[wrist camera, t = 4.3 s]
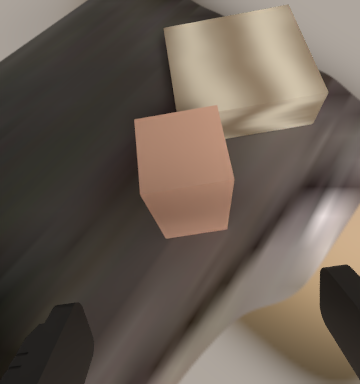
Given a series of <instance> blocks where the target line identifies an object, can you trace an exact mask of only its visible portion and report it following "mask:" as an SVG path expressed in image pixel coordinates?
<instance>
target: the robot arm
mask: <svg viewBox="0 0 360 384" xmlns="http://www.w3.org/2000/svg"><path fill="white" fill-rule="evenodd" d="M320 310H321V314H322V318H323V320H324V322H325V325H326V326H327V328H328V330H329V331H330V333H331V334H332V336H333V338H334V339H335V341H336V343H337V344H338V346H339V347H340V349H341V350H342V352H343V354H344V355H345V357H346V359H347V360H348V362H349V363H350V365H351V367H352V368H353V370H354V371H355V373H356V375H357V376H358V378H359V379H360V276H359V275H357V273H356V272H355V271H354V270H353V269H352V268H351V267H350V266H348V265H339V266H332V267H325V268H322V269H321V271H320ZM93 351H94V340H93V335H92V332H91V330H90V327H89V324H88V321H87V319H86V316H85V313H84V310H83V307H82V305H81V304H80V303H78V302H77V303H70V304H63V305H57V306H55V307H54V308H53V309H52V311H51V313H50V314H49V316H48V318H47V320H46V322H45V323H44V324H39V325H38V326H37V327H36V328H35V329H34V330H33V331H32V332H31V333H30V334H29V335H28V336H27V337H26V338H25V340H24V342H23V343H22V345H21V347H20V348H19V350H18V352H17V355H16V357H14V359H13V360H12V362H11V364H10V365H9V369H8V370H7V371H6V372H5V374H4V375H3V377H2V379H1V380H0V384H84V383H85V379H86V376H87V373H88V370H89V366H90V363H91V360H92V357H93Z"/></svg>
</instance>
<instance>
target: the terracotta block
mask: <svg viewBox="0 0 360 384" xmlns="http://www.w3.org/2000/svg"><path fill="white" fill-rule="evenodd" d="M134 121H135V134H136V147H137V160H138V174H139V187H140V195H141V197H142V199H143V201H144V202H145V204H146V206H147V207H148V209H149V211H150V212H151V214H152V216H153V218H154V219H155V221H156V223H157V224H158V226H159V228H160V229H161V231H162V233H163V235H164V236H165V238H166V239H168V238H174V237H181V236H187V235H194V234H200V233H207V232H213V231H219V230H226V229H227V227H228V220H229V214H230V207H231V200H232V193H233V186H234V180H235V179H234V175H233V171H232V167H231V162H230V158H229V154H228V150H227V145H226V141H225V137H224V132H223V128H222V124H221V120H220V115H219V111H218V107H217V105H214V106H208V107H203V108H197V109H191V110H185V111H180V112H174V113H168V114H163V115H157V116H151V117H145V118H140V119H134Z"/></svg>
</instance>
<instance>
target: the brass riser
mask: <svg viewBox="0 0 360 384" xmlns="http://www.w3.org/2000/svg"><path fill="white" fill-rule="evenodd" d="M164 34H165V40H166V47H167V53H168V60H169V66H170V72H171V79H172V85H173V92H174V98H175V105H176V111H177V112H180V111H185V110H191V109H197V108H203V107H208V106H214V105H217V107H218V111H219V115H220V120H221V124H222V128H223V132H224V137H225V139H227V138H233V137H239V136H245V135H251V134H257V133H263V132H269V131H275V130H280V129H286V128H292V127H298V126H304V125H310V124H313V122H314V120H315V118H316V116H317V114H318V112H319V110H320V108H321V106H322V104H323V102H324V100H325V98H326V96H327V94H328V90H327V88H326V86H325V84H324V81H323V79H322V77H321V75H320V73H319V70H318V68H317V66H316V64H315V62H314V60H313V57H312V55H311V53H310V51H309V49H308V46H307V44H306V42H305V40H304V37H303V35H302V33H301V31H300V29H299V26H298V24H297V22H296V20H295V18H294V15H293V13H292V11H291V9H290V7H289V5H283V6H278V7H273V8H268V9H262V10H257V11H252V12H246V13H241V14H236V15H230V16H225V17H220V18H214V19H209V20H204V21H199V22H193V23H188V24H183V25H177V26H172V27H167V28H164Z"/></svg>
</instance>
